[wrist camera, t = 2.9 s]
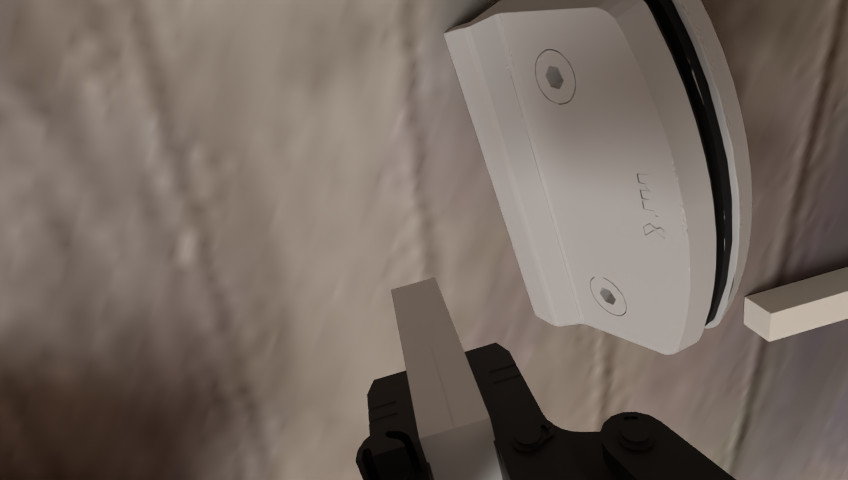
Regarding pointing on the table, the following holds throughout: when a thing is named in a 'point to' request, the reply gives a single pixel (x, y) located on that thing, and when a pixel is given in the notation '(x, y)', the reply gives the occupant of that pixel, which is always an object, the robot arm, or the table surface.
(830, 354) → the table surface
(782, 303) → the guide bay
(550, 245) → the grey half-round casing
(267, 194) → the table surface
